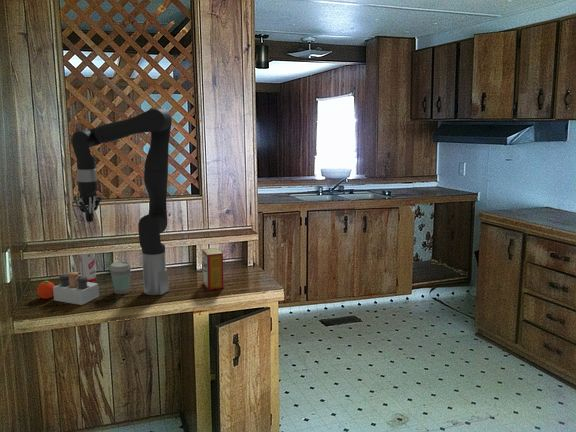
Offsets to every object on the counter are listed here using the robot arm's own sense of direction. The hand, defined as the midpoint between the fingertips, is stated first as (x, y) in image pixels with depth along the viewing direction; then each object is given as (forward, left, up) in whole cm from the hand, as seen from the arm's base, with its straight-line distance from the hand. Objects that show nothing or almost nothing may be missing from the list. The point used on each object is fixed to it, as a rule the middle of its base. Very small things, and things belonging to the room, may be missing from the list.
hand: (90, 221), depth 216 cm
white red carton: (+8, -6, -29) cm, 31 cm away
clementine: (+10, +16, -29) cm, 35 cm away
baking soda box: (-45, -21, -29) cm, 58 cm away
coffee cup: (-13, -1, -29) cm, 32 cm away
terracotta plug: (-1, +13, -26) cm, 29 cm away
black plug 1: (+3, +13, -27) cm, 31 cm away
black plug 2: (-6, +13, -28) cm, 31 cm away
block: (-1, +12, -29) cm, 31 cm away
